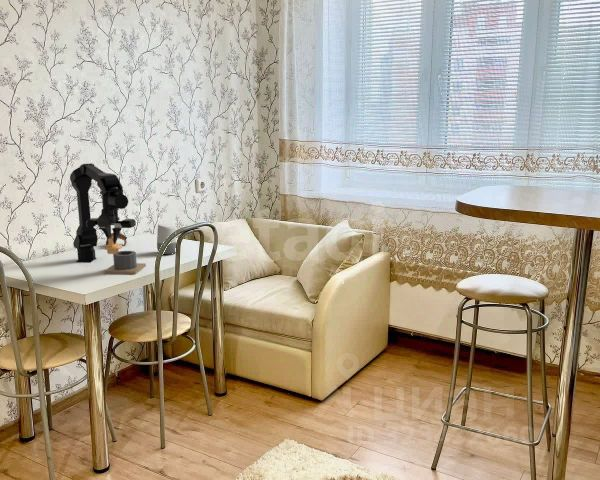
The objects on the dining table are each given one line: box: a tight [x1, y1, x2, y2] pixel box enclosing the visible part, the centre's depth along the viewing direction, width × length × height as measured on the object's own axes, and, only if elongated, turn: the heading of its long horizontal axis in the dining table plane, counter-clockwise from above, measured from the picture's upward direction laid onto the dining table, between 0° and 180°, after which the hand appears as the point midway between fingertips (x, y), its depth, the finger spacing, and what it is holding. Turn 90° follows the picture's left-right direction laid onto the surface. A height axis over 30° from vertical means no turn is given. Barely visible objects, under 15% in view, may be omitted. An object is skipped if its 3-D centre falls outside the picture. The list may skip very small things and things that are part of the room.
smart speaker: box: [156, 223, 178, 255], centre depth 276 cm, size 10×9×14 cm
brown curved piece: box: [105, 232, 128, 247], centre depth 291 cm, size 12×10×8 cm
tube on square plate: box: [103, 250, 147, 275], centre depth 248 cm, size 13×13×7 cm
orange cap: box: [102, 237, 123, 255], centre depth 243 cm, size 7×7×6 cm
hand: (112, 243), depth 243 cm, fingers closed on orange cap
